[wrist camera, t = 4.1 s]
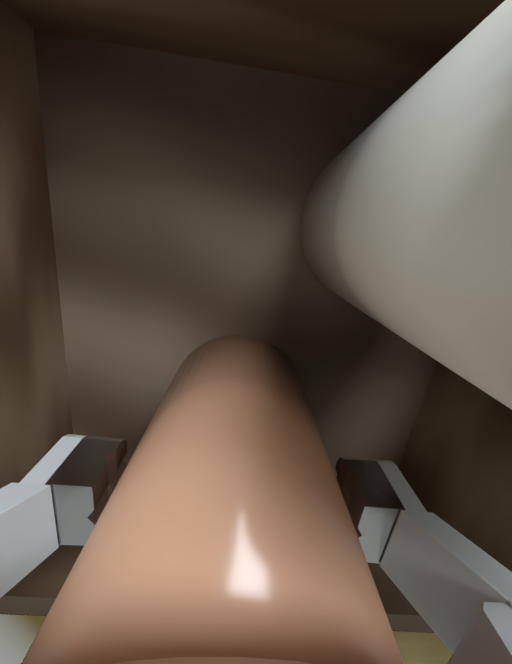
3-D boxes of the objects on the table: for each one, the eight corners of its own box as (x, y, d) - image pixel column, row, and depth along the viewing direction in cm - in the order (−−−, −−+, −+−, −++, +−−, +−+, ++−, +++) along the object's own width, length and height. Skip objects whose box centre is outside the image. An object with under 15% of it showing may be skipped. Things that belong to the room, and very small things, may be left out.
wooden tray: (15, 2, 8) (-895, -913, 2) (542, 96, 9) (1245, -242, 3) (66, 457, 13) (-105, 664, 7) (398, 483, 14) (521, 684, 8)
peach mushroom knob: (159, 310, 10) (-1045, 1293, 1) (330, 329, 11) (1029, 1107, 1) (156, 452, 12) (-163, 1205, 3) (301, 464, 13) (461, 1150, 3)
